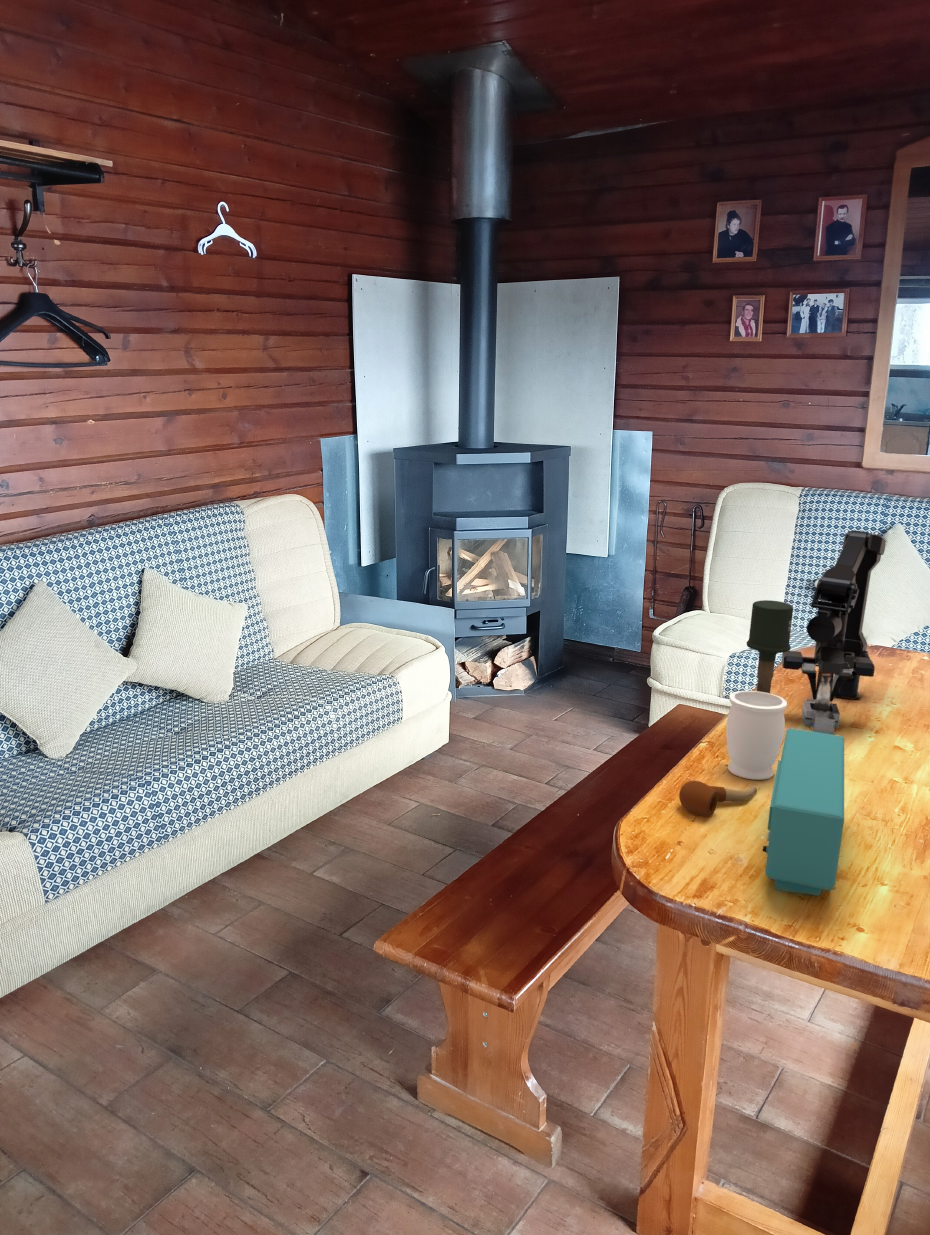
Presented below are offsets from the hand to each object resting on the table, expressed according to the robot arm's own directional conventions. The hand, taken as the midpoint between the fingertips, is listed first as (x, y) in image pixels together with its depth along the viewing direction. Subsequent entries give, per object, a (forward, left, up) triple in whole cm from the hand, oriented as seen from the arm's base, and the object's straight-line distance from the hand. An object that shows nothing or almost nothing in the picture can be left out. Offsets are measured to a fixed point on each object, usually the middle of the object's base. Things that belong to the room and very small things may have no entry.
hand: (822, 700), depth 209 cm
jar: (+34, -16, -6) cm, 38 cm away
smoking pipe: (+50, -23, -6) cm, 55 cm away
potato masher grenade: (+18, -14, -6) cm, 23 cm away
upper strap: (+2, 0, -5) cm, 6 cm away
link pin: (0, 0, -3) cm, 3 cm away
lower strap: (-4, 0, -5) cm, 7 cm away
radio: (+65, -10, -6) cm, 65 cm away
